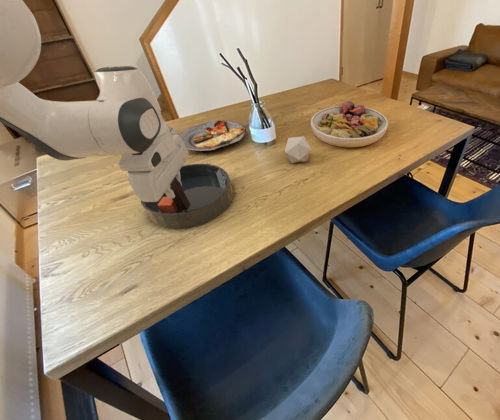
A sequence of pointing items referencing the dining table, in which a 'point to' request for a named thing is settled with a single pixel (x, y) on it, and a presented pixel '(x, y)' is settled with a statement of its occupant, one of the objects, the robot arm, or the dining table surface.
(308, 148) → the die
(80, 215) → the dining table surface
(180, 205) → the stick
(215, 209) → the bowl
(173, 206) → the block
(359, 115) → the bowl
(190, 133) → the food plate
